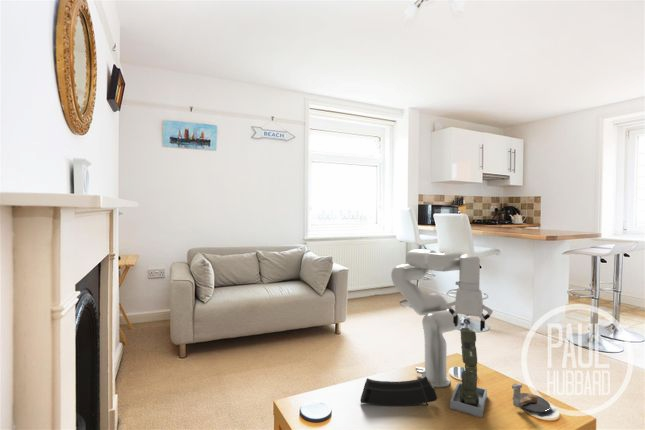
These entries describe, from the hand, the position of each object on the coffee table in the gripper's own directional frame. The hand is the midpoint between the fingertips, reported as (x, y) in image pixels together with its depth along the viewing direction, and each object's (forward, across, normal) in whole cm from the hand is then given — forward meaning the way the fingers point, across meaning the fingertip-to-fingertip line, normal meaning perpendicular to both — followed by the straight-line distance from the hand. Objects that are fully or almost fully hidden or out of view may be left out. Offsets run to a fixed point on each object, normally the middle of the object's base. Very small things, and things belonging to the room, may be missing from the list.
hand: (468, 327), depth 141 cm
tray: (+31, +1, 0) cm, 31 cm away
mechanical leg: (+30, 0, 0) cm, 30 cm away
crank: (+29, +20, +7) cm, 36 cm away
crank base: (+31, +23, +11) cm, 40 cm away
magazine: (+31, -24, -16) cm, 42 cm away
